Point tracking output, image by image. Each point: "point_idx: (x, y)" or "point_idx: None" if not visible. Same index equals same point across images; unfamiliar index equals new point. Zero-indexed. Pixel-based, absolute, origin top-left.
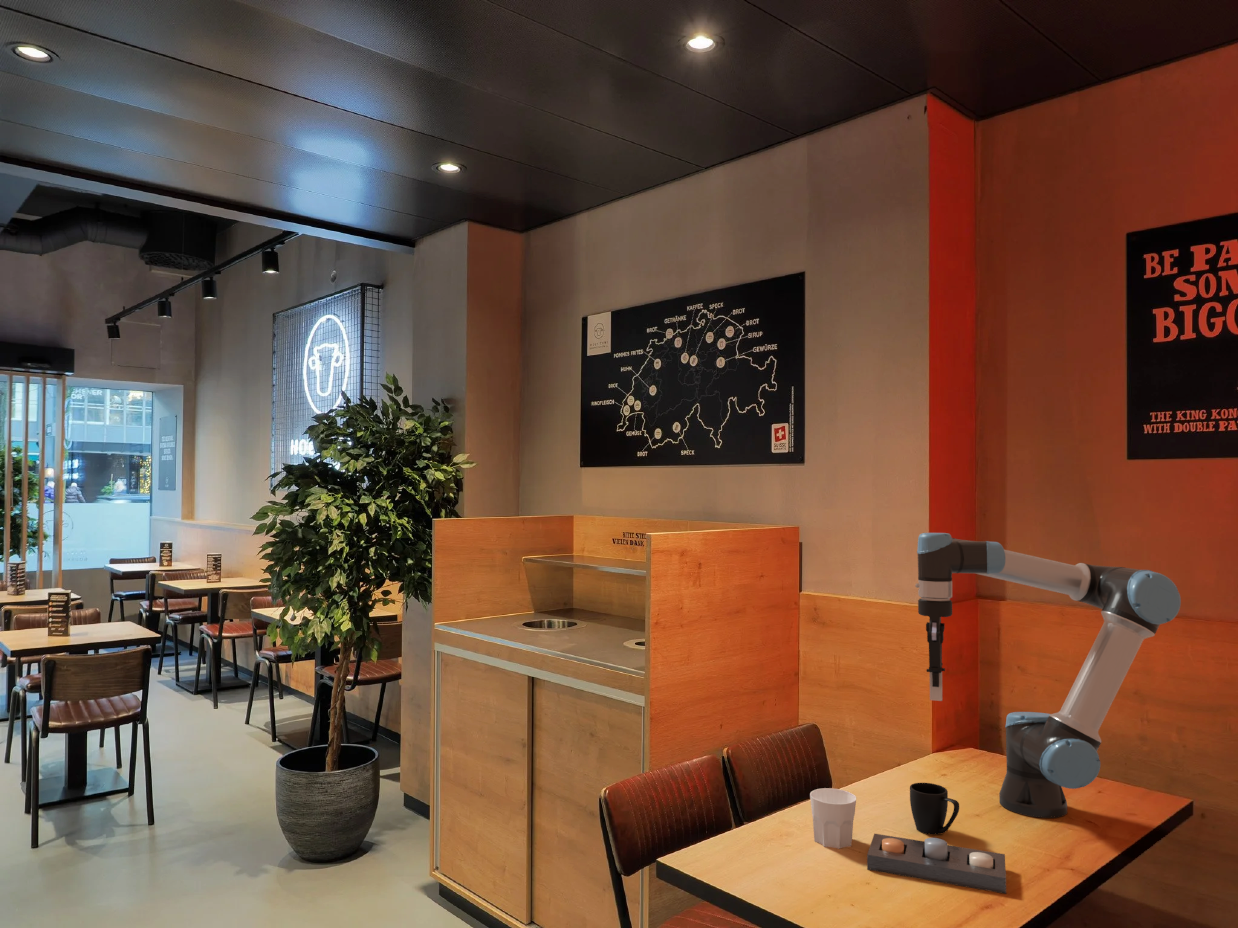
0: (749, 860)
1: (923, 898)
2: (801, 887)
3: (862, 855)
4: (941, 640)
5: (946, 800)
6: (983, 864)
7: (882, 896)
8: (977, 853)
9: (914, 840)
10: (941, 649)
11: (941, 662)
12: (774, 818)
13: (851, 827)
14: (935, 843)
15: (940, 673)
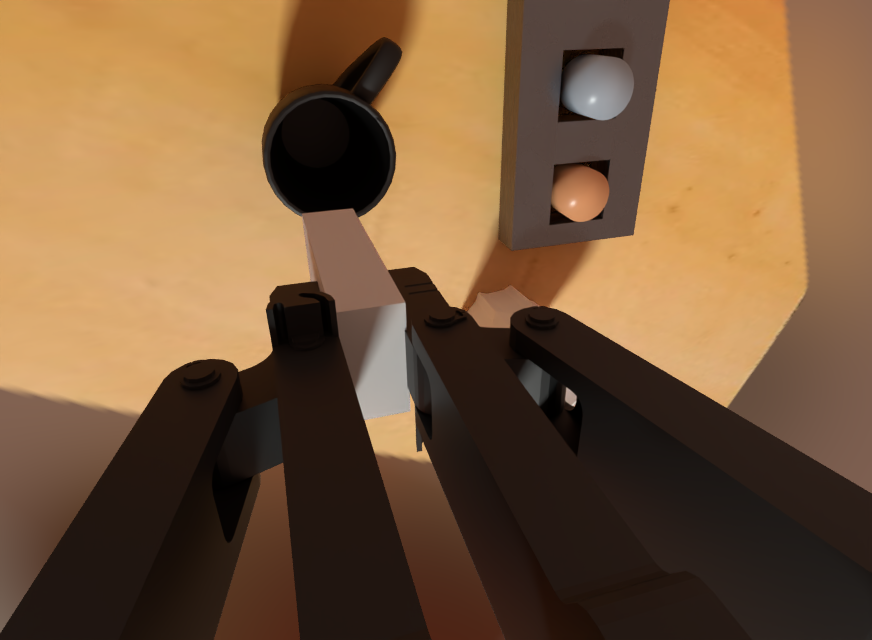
0: None
1: (716, 92)
2: (711, 304)
3: (550, 250)
4: (729, 635)
5: (383, 86)
6: None
7: (720, 170)
8: None
9: (519, 151)
10: (160, 543)
11: (307, 381)
12: (426, 457)
13: (530, 301)
14: (617, 89)
15: (404, 311)
